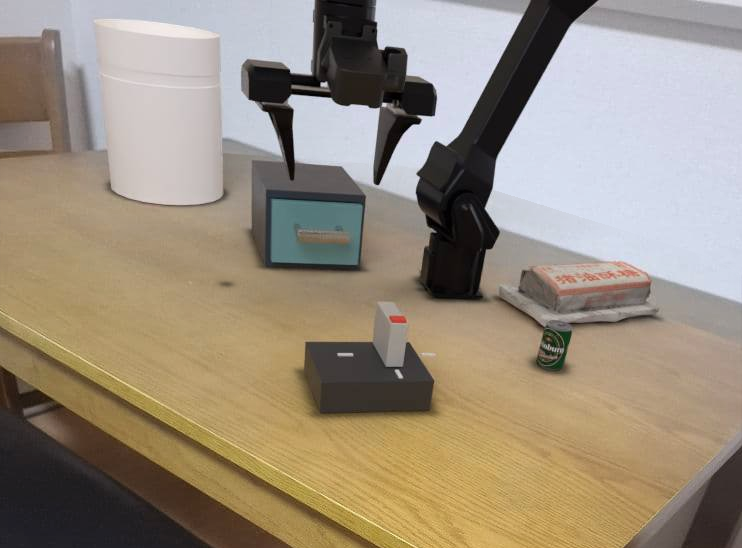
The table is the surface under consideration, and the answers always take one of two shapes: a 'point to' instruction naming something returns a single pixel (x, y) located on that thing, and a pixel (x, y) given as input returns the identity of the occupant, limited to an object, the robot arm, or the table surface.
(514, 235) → the table surface
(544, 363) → the beer can
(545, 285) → the packaged product
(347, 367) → the dial panel
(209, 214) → the table surface
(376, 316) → the dial
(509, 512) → the table surface
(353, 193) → the cabinet
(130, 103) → the canister
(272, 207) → the drawer
